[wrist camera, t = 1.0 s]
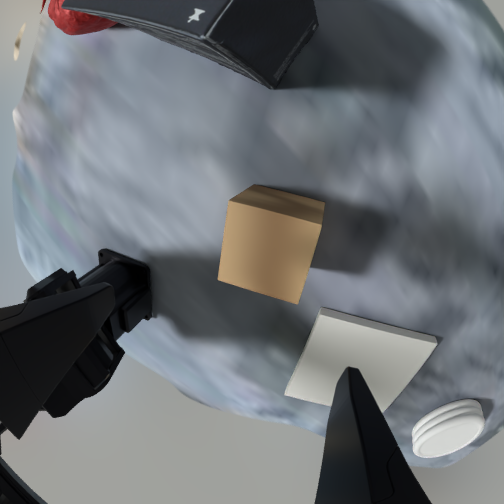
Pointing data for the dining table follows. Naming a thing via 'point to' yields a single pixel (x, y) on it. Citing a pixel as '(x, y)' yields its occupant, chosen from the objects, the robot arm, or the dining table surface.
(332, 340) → the white board
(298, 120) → the dining table surface
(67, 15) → the pomegranate
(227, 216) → the oak cube
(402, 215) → the dining table surface
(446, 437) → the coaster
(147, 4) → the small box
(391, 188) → the dining table surface
